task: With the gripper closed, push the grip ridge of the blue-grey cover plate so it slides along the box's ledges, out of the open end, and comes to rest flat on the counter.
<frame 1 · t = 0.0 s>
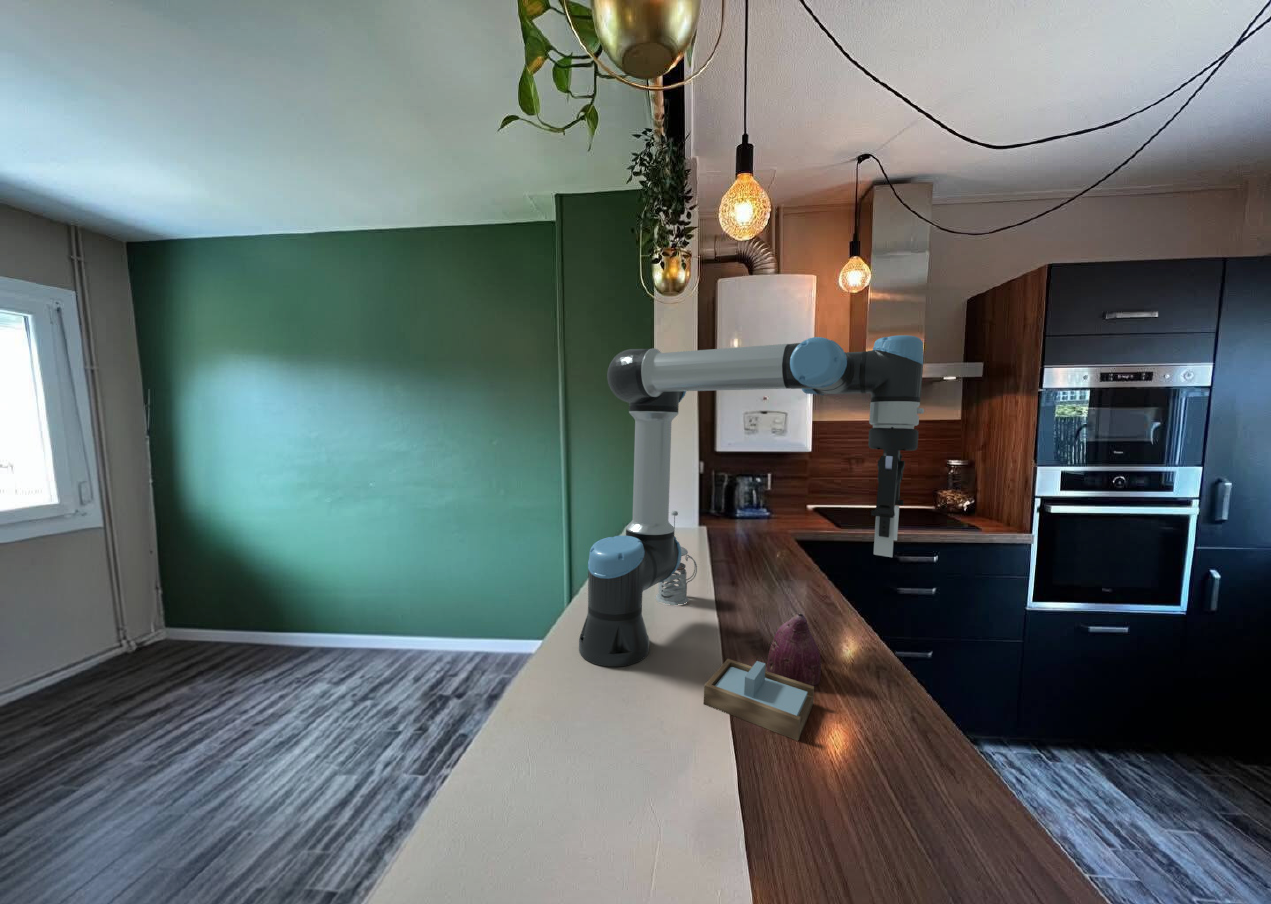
hand: (886, 547, 80), 28 cm above the counter, fingers open, 13 cm apart
pencil box: (758, 704, 79), on the counter
vegetable: (793, 674, 89), on the counter
lid: (760, 694, 78), point 2 cm above the counter, touching pencil box
french press: (674, 599, 126), on the counter
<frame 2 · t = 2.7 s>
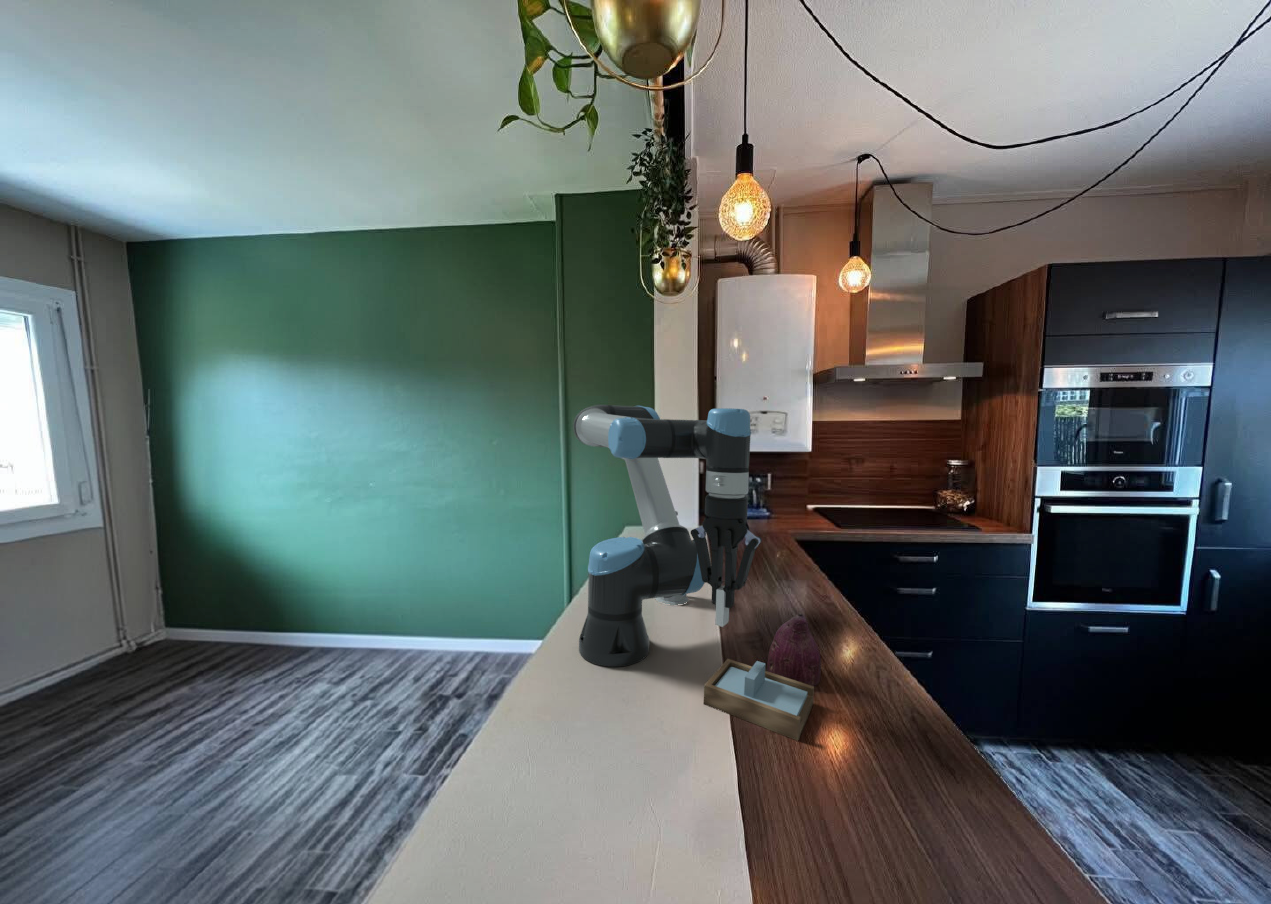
hand: (722, 623, 82), 13 cm above the counter, fingers closed
nothing on the counter moved.
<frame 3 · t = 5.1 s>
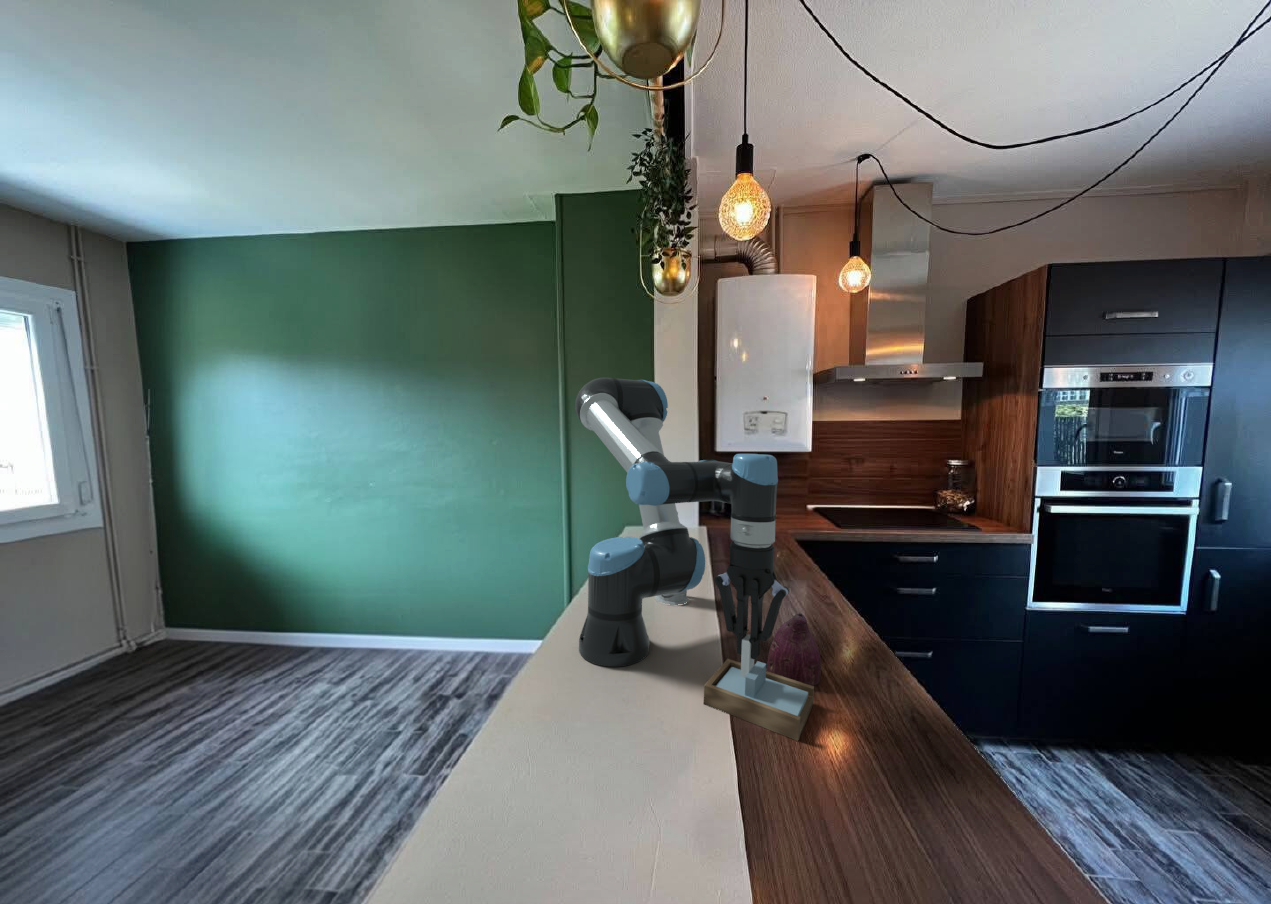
hand: (747, 673, 79), 5 cm above the counter, fingers closed
lid: (760, 694, 78), point 2 cm above the counter, touching gripper, pencil box
everything else where it was.
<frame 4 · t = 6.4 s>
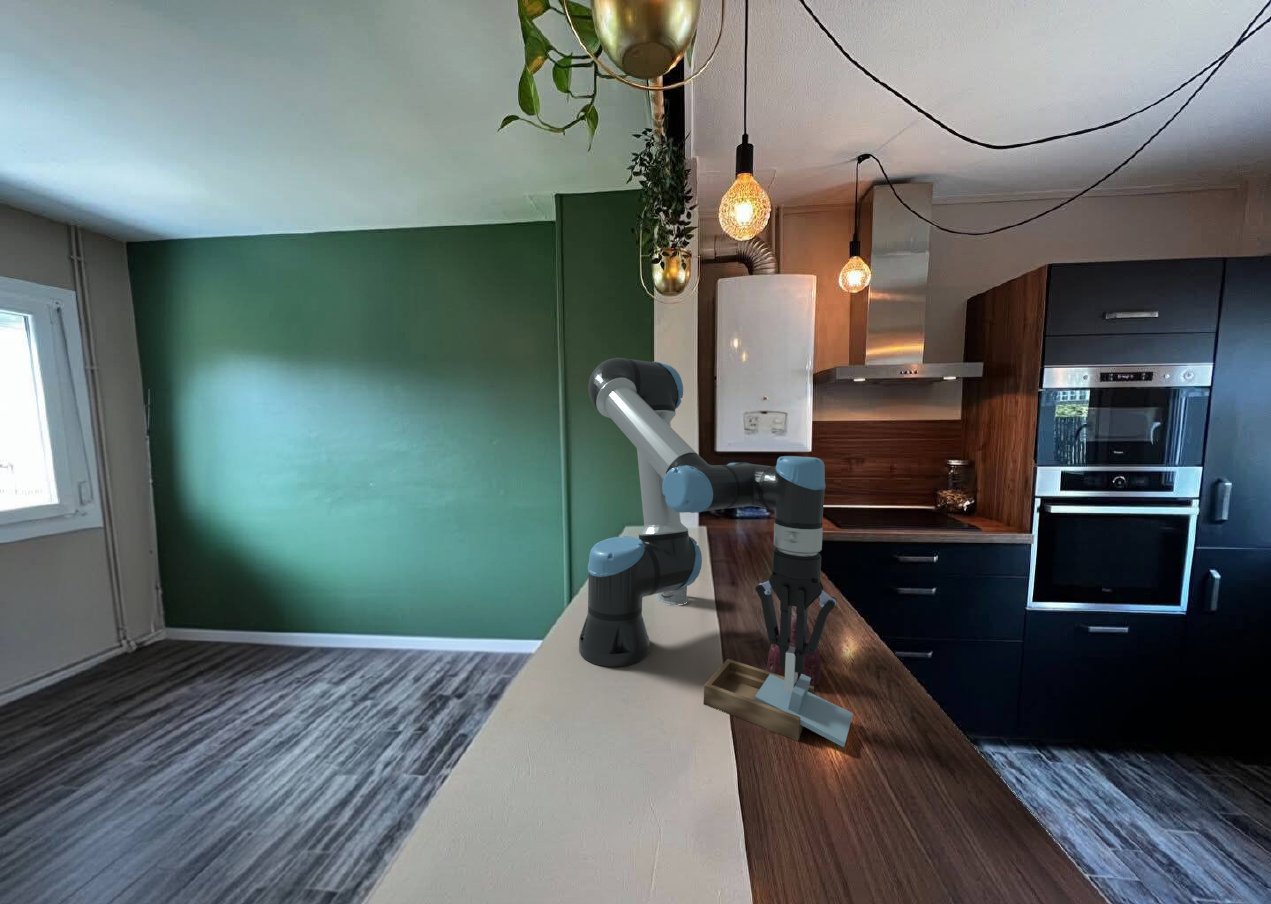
hand: (790, 688, 75), 5 cm above the counter, fingers closed
lid: (803, 709, 74), point 2 cm above the counter, tilted 9°, touching gripper, pencil box
everything else where it was.
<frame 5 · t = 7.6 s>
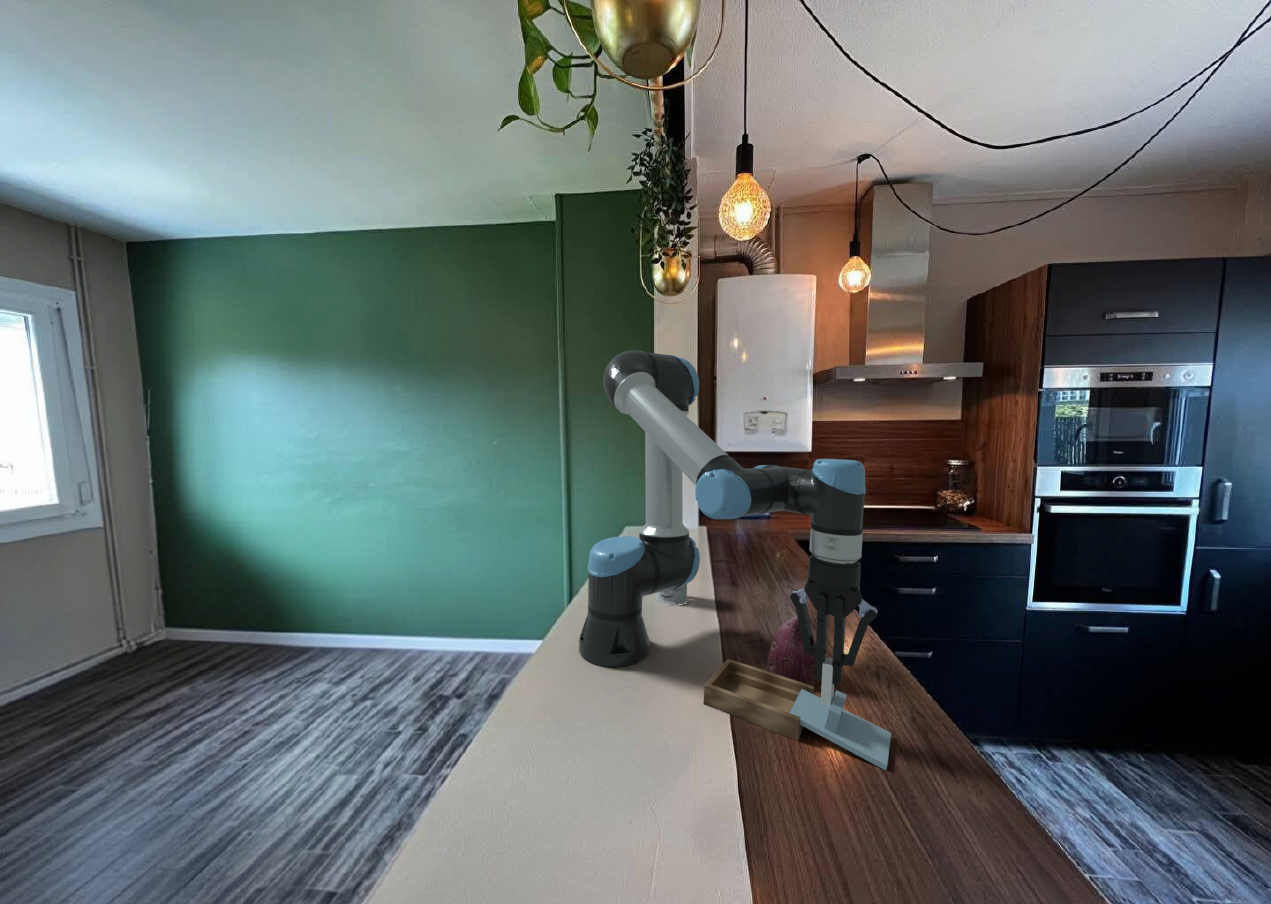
hand: (827, 700, 72), 5 cm above the counter, fingers closed
lid: (838, 727, 71), point 1 cm above the counter, tilted 10°, touching gripper, pencil box
everything else where it was.
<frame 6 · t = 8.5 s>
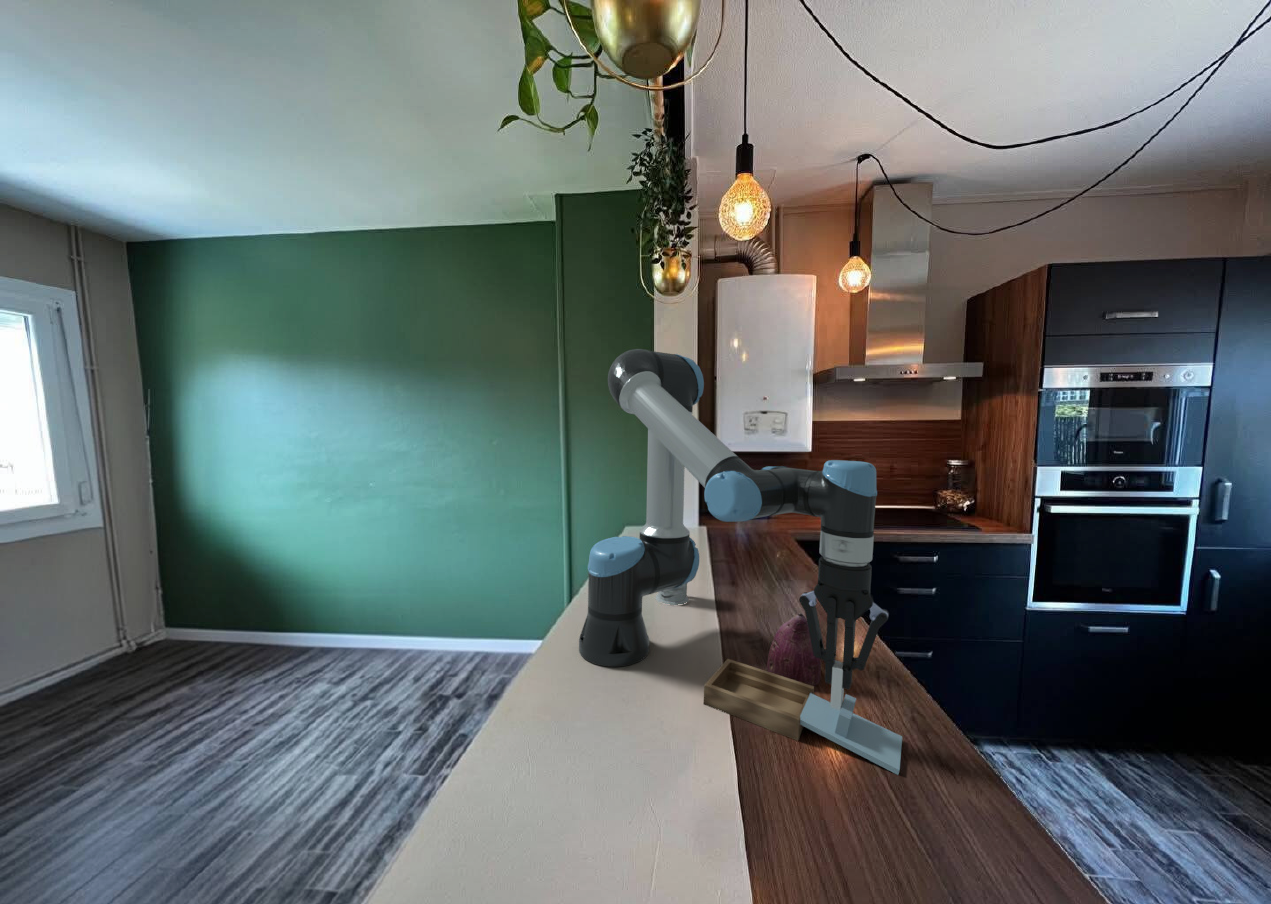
hand: (836, 704, 72), 5 cm above the counter, fingers closed
lid: (849, 732, 71), point 1 cm above the counter, tilted 9°, touching gripper, pencil box
everything else where it was.
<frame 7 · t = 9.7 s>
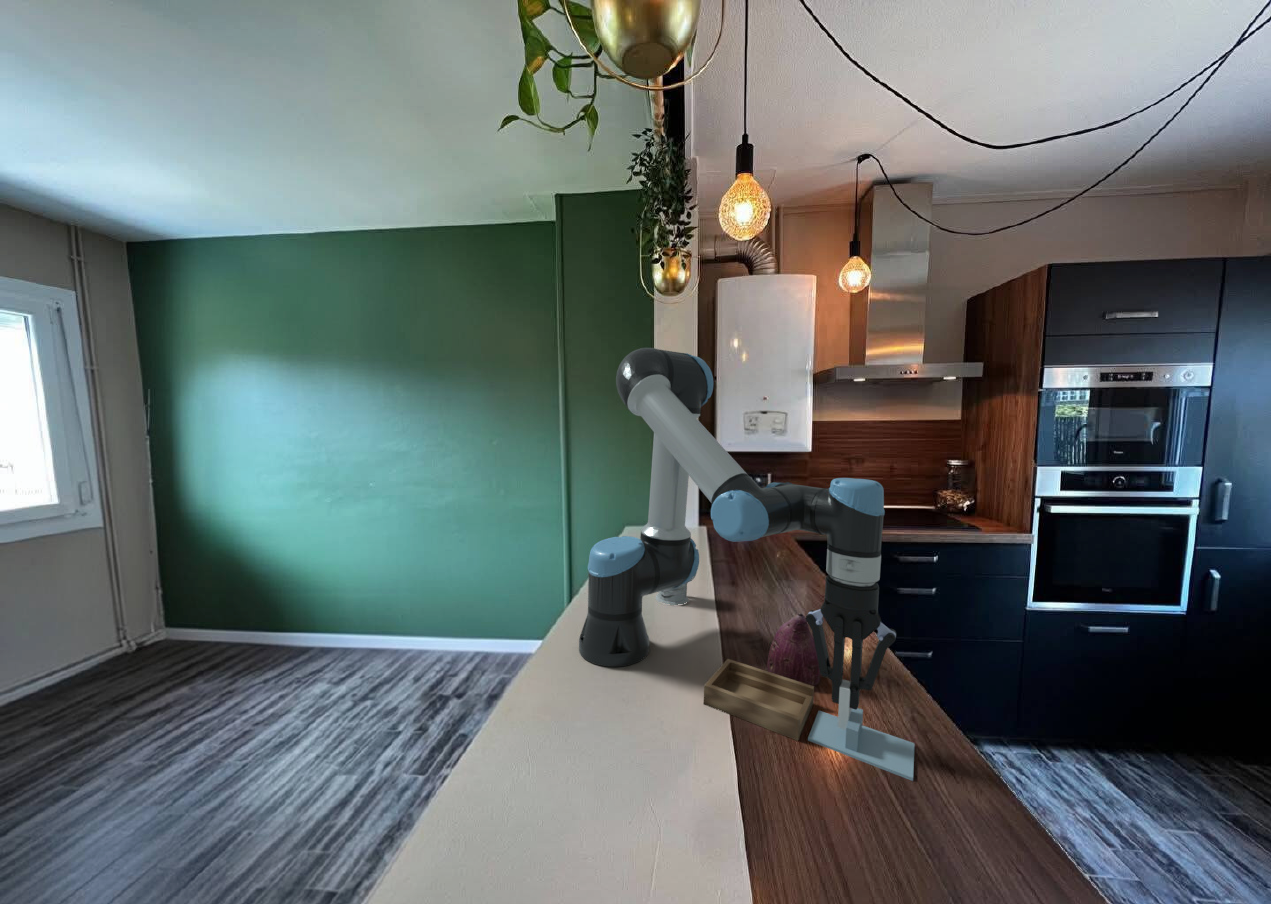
hand: (844, 724, 71), 2 cm above the counter, fingers closed
lid: (860, 745, 70), on the counter, touching gripper
everything else where it was.
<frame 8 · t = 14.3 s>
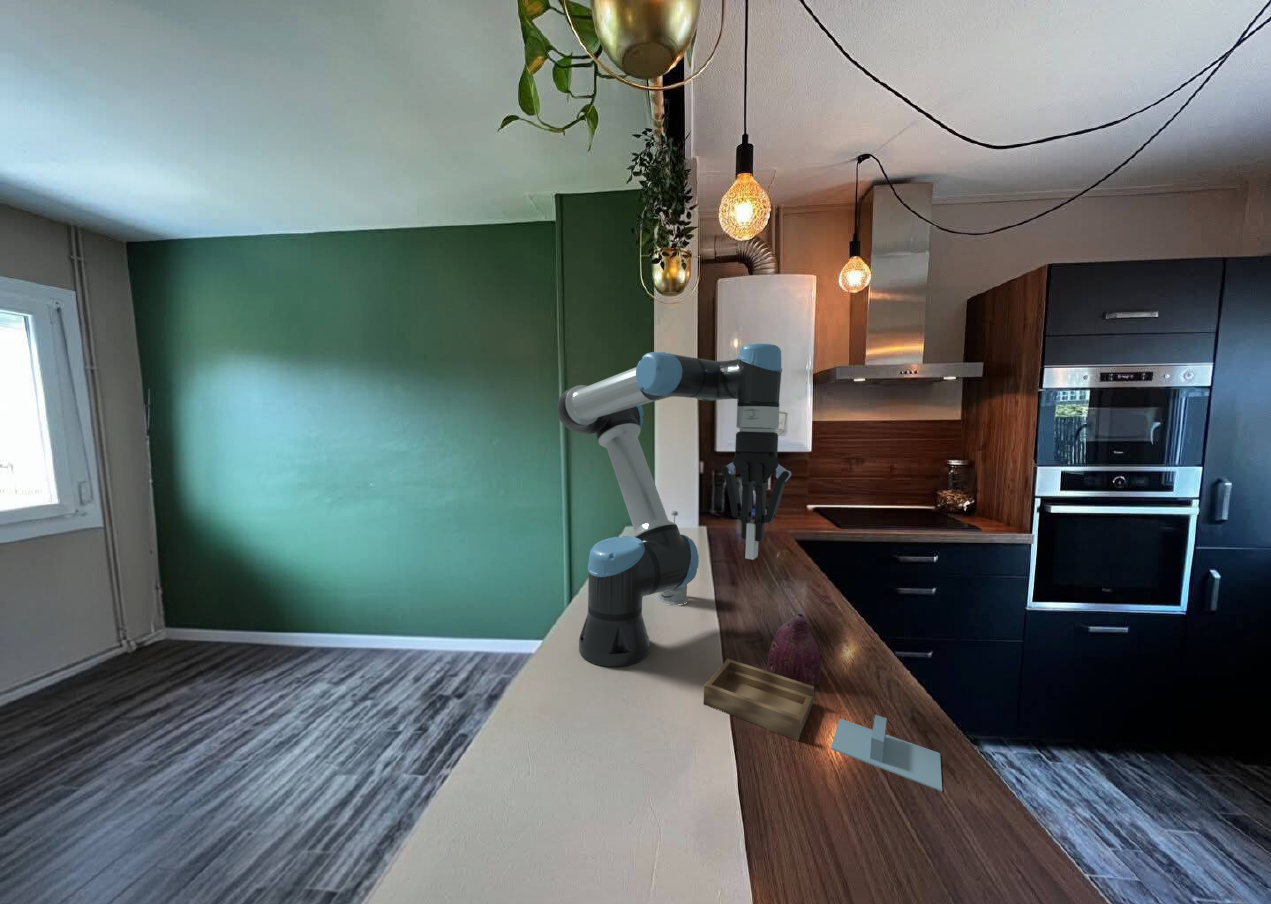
hand: (751, 557, 84), 24 cm above the counter, fingers closed
lid: (885, 755, 68), on the counter
everything else where it was.
at the end: lid inside the target area (0.1 cm from its centre), on the counter; lid touching counter; lid tilted 0° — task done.
